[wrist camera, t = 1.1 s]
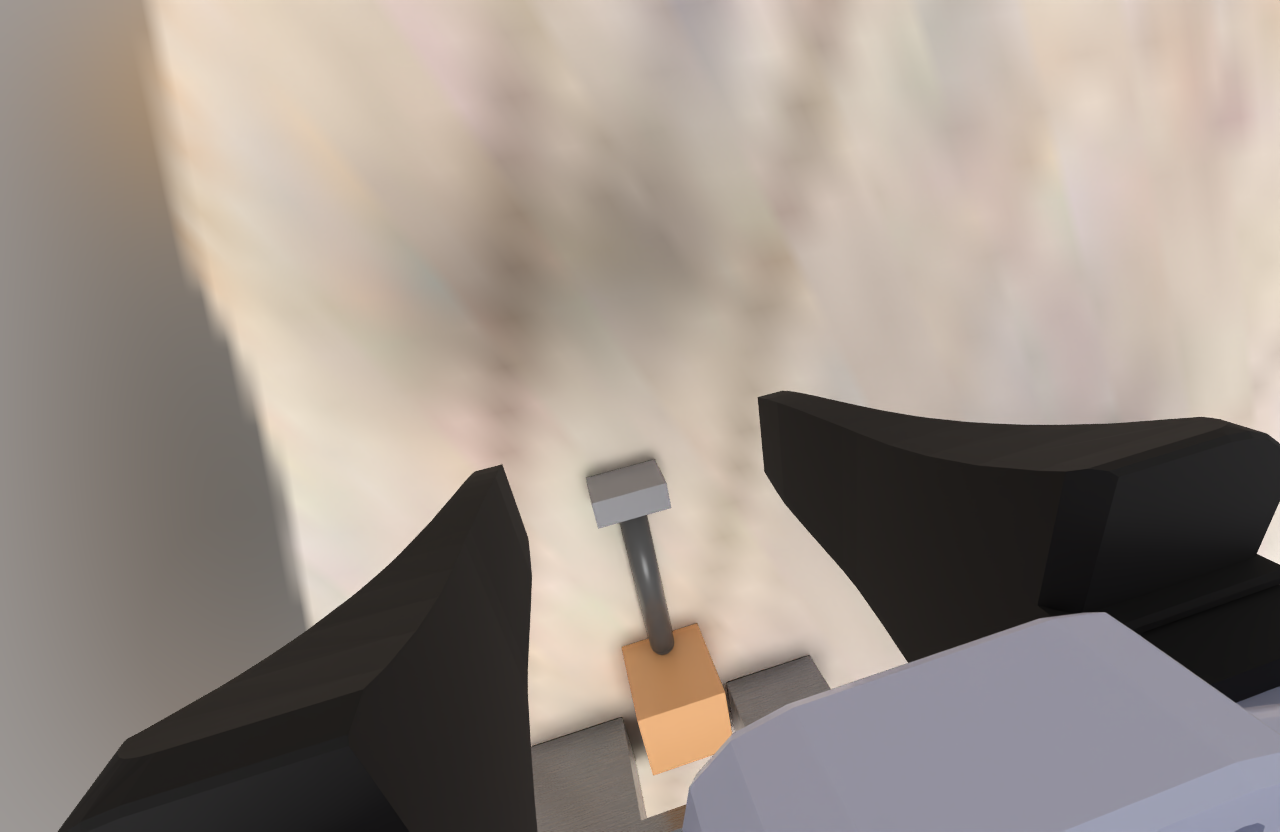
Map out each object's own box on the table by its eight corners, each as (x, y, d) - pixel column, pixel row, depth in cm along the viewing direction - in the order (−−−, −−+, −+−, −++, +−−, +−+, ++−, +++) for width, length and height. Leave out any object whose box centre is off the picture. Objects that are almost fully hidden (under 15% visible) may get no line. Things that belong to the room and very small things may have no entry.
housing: (809, 655, 28) (874, 758, 23) (811, 701, 30) (872, 806, 25) (531, 747, 26) (531, 881, 21) (550, 790, 28) (555, 925, 23)
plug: (665, 456, 21) (694, 507, 18) (706, 675, 27) (734, 747, 23) (574, 480, 21) (584, 539, 17) (636, 698, 27) (653, 775, 23)
